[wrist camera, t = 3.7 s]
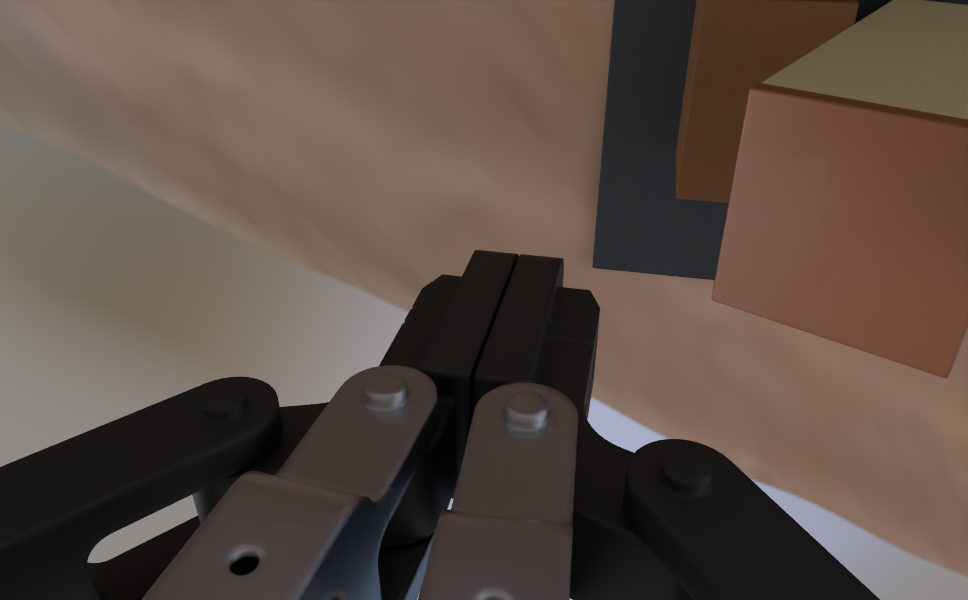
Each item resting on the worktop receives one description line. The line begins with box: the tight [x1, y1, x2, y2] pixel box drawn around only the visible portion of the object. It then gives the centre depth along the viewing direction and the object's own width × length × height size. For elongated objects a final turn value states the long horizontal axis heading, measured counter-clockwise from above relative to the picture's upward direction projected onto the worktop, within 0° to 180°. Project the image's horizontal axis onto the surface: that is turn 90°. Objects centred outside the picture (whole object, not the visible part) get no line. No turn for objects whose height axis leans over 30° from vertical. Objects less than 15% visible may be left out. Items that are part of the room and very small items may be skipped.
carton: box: [712, 0, 968, 378], centre depth 20 cm, size 10×5×13 cm, turn 90°
